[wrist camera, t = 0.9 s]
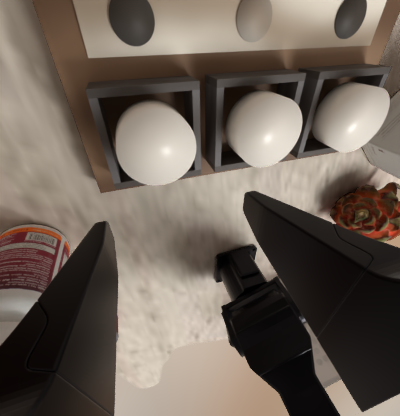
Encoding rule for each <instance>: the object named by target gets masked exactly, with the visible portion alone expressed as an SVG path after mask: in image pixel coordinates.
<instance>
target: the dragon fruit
mask: <svg viewBox="0 0 400 416" xmlns="http://www.w3.org/2000/svg"><path fill="white" fill-rule="evenodd" d="M397 188H398V189H400V185H399V184H397V183H395V182H391V183H388V184H387V185H386V186H385V187H384V188H382V189H380V190H378V191H377V190H376V189H375V187H374V186H369V185H365V186H362V187H360V188H358V189H357V190H356V191H355V193H354V194H353V193H349V194H346V195H345V196H343V197H341V199H339V200H338V201H337V202H336V206H335V207H333V208H332V210H331V213H330V216H331V218H332V219H333V220H334V221H335V222H336V225H339V226H341V227H343V228H346V229H348V230H351V231H353V232H356V233H359V234H361V235H364V236H367V237H370V238H372V239H375V240H378V241H381V242H384V241H388V240H392V239H394V238H395V237H397V236H399V235H400V201H398V198H397V197H396V194H397Z"/></svg>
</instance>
